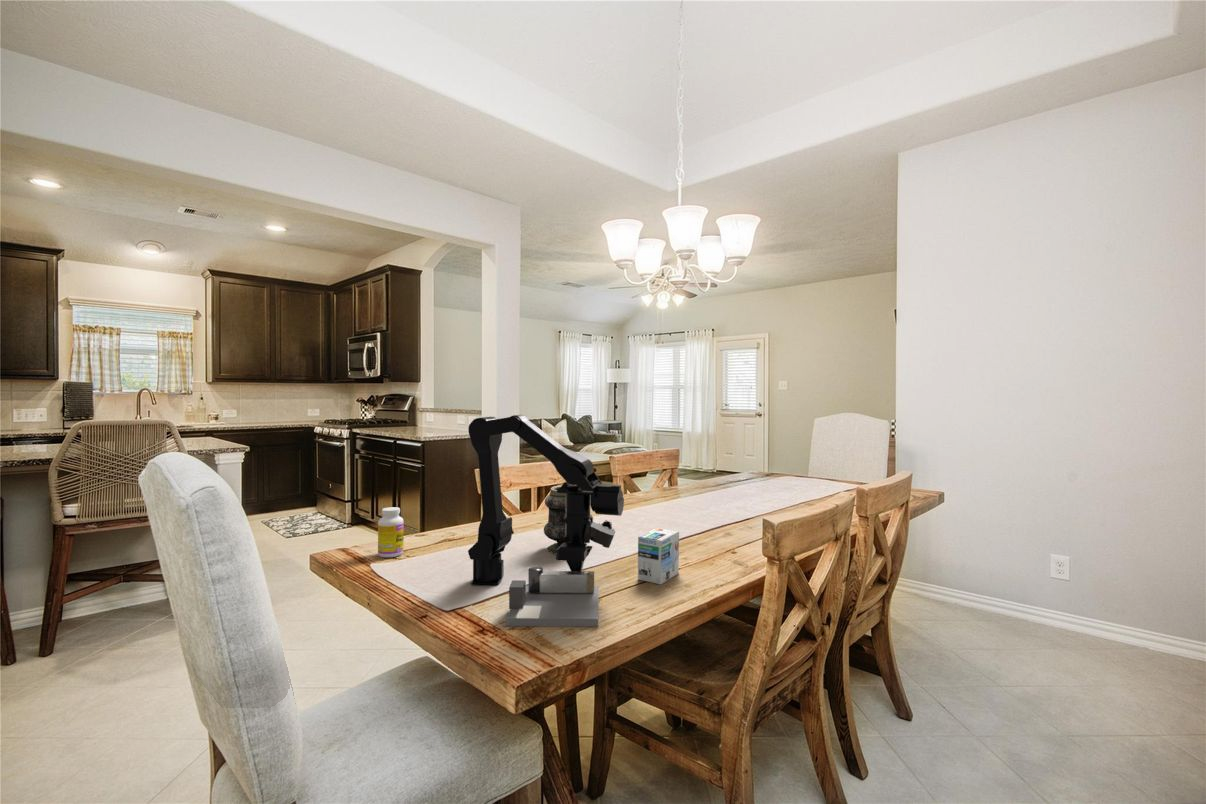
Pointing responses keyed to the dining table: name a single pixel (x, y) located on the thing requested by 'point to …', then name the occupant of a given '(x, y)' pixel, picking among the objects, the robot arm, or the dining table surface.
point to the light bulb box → (658, 555)
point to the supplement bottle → (390, 533)
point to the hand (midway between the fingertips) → (577, 579)
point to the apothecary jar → (556, 518)
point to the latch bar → (560, 581)
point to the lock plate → (551, 607)
